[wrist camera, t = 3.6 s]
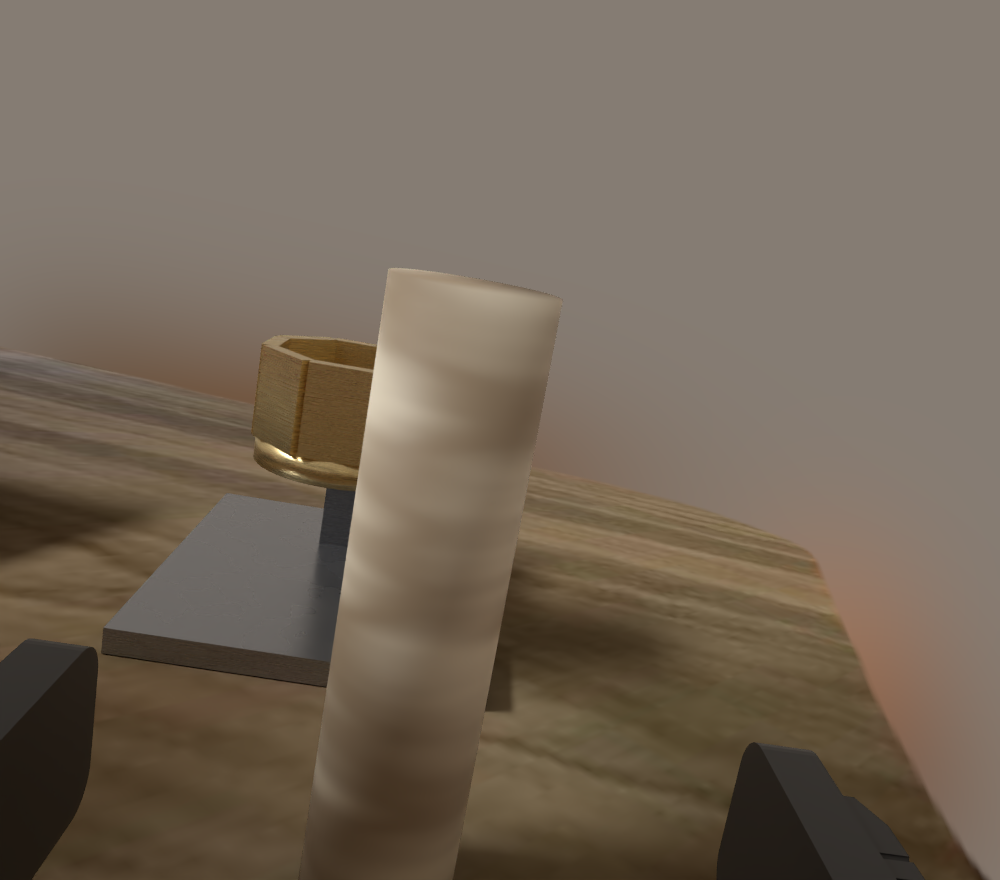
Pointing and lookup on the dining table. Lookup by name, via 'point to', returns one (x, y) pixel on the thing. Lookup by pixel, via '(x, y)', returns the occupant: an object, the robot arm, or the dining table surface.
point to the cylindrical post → (426, 572)
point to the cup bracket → (267, 533)
